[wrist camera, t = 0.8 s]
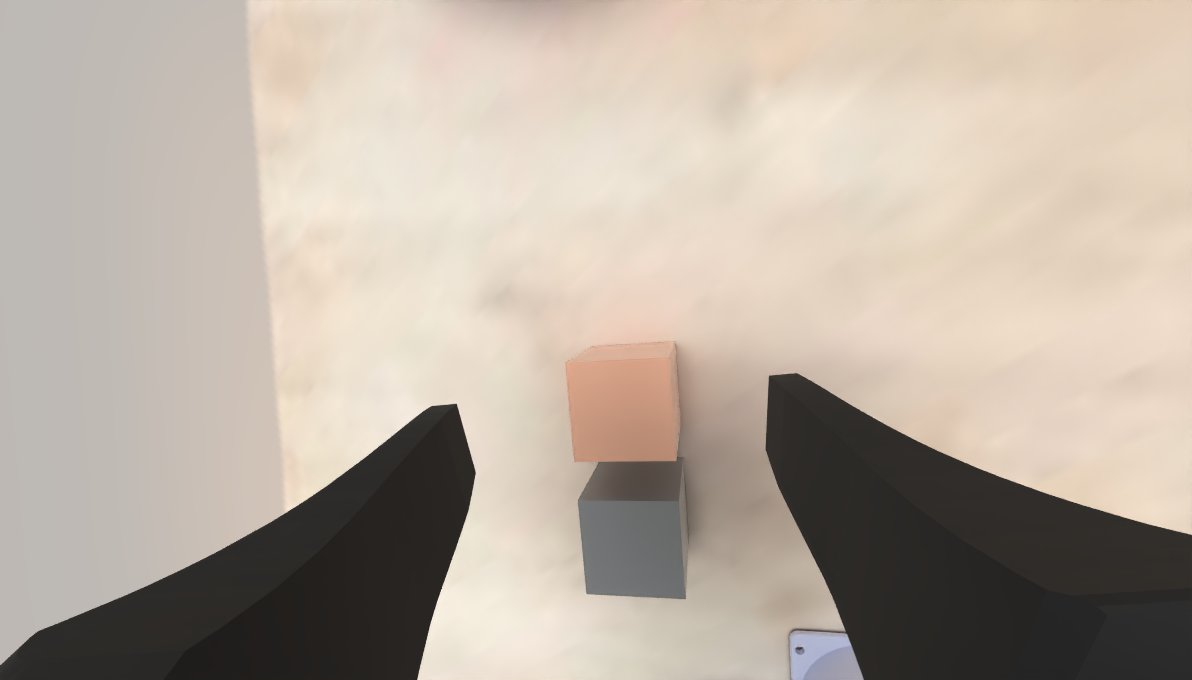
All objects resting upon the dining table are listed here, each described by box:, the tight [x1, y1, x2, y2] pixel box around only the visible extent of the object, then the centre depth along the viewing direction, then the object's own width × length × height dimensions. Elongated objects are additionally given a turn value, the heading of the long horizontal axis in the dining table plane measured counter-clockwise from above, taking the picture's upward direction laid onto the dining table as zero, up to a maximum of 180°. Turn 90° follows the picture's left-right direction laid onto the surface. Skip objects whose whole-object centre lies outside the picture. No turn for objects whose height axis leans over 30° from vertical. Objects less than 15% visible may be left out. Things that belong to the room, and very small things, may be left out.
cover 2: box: [578, 458, 688, 599], centre depth 27 cm, size 5×5×6 cm
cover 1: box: [565, 342, 681, 462], centre depth 27 cm, size 5×5×6 cm
